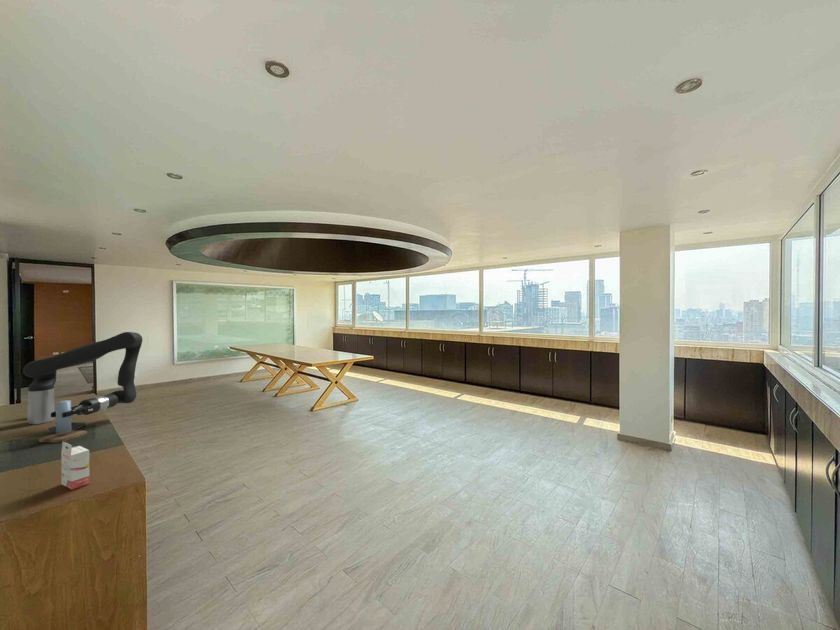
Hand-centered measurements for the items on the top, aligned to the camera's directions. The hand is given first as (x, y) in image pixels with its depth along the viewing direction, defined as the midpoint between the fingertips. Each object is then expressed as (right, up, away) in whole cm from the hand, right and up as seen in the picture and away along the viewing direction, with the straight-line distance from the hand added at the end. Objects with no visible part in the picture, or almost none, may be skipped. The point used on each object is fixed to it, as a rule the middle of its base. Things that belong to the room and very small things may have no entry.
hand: (57, 415), depth 157 cm
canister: (0, -8, +3) cm, 9 cm away
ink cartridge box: (+49, -12, -40) cm, 64 cm away
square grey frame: (-10, -11, +14) cm, 21 cm away
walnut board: (0, -11, +3) cm, 12 cm away
